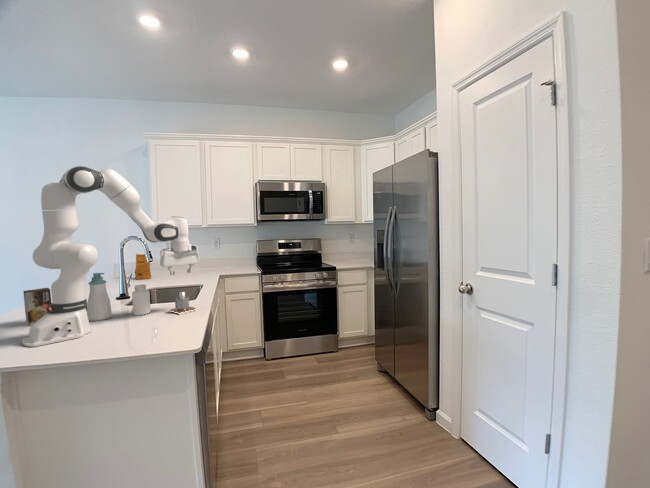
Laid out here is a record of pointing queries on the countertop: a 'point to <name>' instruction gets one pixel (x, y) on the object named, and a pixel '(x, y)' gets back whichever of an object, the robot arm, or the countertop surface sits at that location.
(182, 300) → the hub
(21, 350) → the countertop surface
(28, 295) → the coffee box
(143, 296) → the pill bottle
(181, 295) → the shaft block
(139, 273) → the coffee package
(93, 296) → the soap bottle
